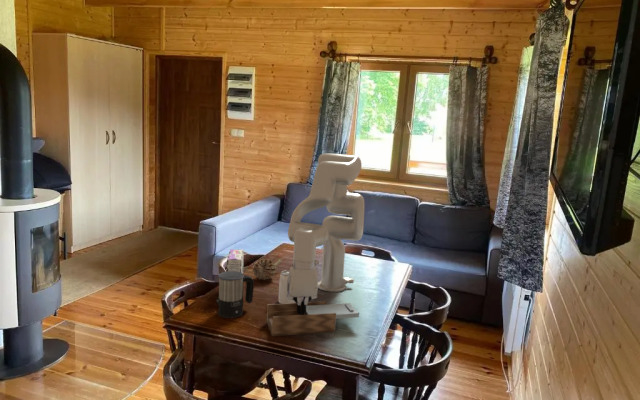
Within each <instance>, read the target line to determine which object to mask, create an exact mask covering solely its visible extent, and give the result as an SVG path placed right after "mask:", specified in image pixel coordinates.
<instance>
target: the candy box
mask: <svg viewBox="0 0 640 400" xmlns="http://www.w3.org/2000/svg"><path fill="white" fill-rule="evenodd" d="M244 251H245V250H244V249H236V248H235V249H232V248H231V249H230V250H229V253H228V255H227V260H226V272H227V271H237V272H241V273H243V274H244V254H245V253H244Z"/></svg>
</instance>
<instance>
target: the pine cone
mask: <svg viewBox="0 0 640 400" xmlns="http://www.w3.org/2000/svg"><path fill="white" fill-rule="evenodd" d="M282 260H283V259H282V258H280V259H279V258H278V260H277V261H276V262H273V260H271V259H268V258H261V259H260V258H259V259H258V260H257V261H256V262H254V264H253V265H252V268H253V269H252V272H253V275H254V276H255V277H256V278H257V279H259V280H261V279H262V281H264V280H269V279H270V278H272V277H274V276H275V273H276V272H277V270H276V269H277V266H278V265H280V264H281V263H283V261H282Z"/></svg>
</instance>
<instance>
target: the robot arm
mask: <svg viewBox="0 0 640 400" xmlns="http://www.w3.org/2000/svg"><path fill="white" fill-rule="evenodd" d="M318 156H319V157H318V158H317V166H316V167H315V168H316V169H315V172H314V176H313V179H312V185H311V189H310V192H309V195H308V197H306V198H304V200H302V201H301V202H300V203H299V204H298V205H297V206H296V207H295V209H294V211H292V214H291V219H290V220H289V226H288V229H287V237H288V239H289V241H290V242H292V243H293V254H292V255H293V256H292V257H293V259H292V265H291V266H290V267H289V270H288V271H289V276H288V283H287V292H288V294H287V299H289V300H294V301H295V302H294V303H297V313H298V314H299V315H304V313H306V305H307V304H308V302H311V300H314V299H315V300H316V299H317V298H318V290H321V291H324V292H330V293H338V292H343V291H345V290H346V289H347V284H354V282H355V280H354V278H349V277H344V268H345V258H346V257H345V256H346V255H345V254H346V248H345V247H346V246H345V244H344V242H343V241H342V240H345V241H346V240H347V241H353V242H357V241H360V240H361V239H362V237H363V235H364V224H365V198H364V196H363V195H361V194H360V193H356V192H355V193H354V192H348V186H350V185H352V184H353V183H354V182H355V181H356V179H357V178H358V177H359V175H360V173H361V170H362V160H361V158H360V157H359V156H357V155H351V154H341V153H332V152H331V153H328V152H327V153H326V152H325V153H322V154H320V155H318ZM325 207H326V210H327V211H328V212H329V213H330V214H333V215H327V216H326V217H324V218H323V221H322V224H318V223H317V224H316V223H309V222H303V221H302V222H301V220H302V219H303V217H305V216H306V215H307V214H308V213H310V212H312V211H315V210H318V209H321V208H325ZM340 215H341V216H340ZM342 215H343V216H342ZM348 216H349V217H348ZM317 247H318V248H319V247H322V258H321V260H322V261H321V277H320V278H321V279H320V281H318V271H317V265H319V264H320V261H319V260H316V252H317Z"/></svg>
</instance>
